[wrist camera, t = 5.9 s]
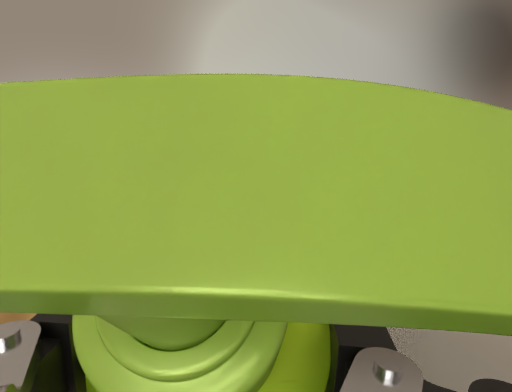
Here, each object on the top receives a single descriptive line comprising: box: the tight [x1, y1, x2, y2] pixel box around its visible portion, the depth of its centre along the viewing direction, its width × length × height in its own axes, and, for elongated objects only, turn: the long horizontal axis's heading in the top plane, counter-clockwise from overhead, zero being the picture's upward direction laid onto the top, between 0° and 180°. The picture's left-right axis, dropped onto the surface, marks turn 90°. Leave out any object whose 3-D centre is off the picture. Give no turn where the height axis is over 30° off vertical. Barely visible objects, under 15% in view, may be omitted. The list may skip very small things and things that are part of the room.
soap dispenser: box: [0, 74, 512, 392], centre depth 11 cm, size 6×7×20 cm
